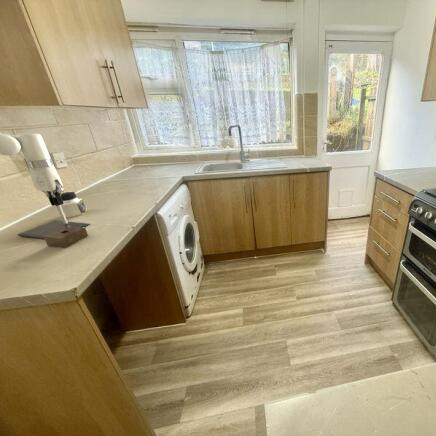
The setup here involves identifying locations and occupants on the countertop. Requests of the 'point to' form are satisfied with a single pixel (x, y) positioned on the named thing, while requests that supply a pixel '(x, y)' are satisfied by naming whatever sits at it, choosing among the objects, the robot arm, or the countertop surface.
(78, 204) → the medicine bottle
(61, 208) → the stylus
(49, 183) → the robot arm
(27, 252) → the countertop surface
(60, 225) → the plate
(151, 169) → the countertop surface
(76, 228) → the pen stand
